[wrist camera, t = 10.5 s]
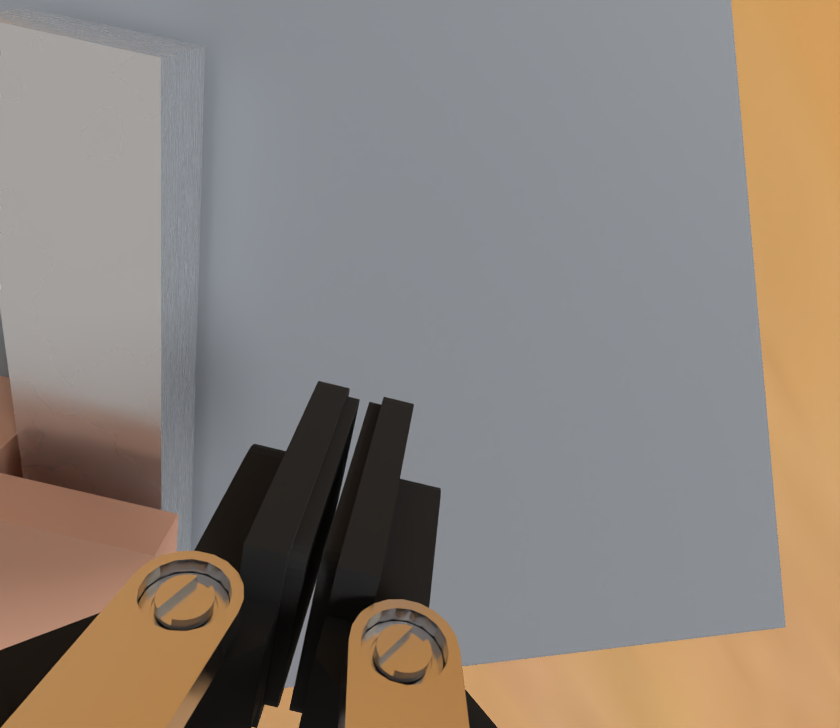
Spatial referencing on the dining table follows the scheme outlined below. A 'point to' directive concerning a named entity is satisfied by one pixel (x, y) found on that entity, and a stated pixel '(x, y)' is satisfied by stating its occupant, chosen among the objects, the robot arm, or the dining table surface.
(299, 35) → the slate board
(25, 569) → the block
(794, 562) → the dining table surface
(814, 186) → the dining table surface
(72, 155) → the steel link
